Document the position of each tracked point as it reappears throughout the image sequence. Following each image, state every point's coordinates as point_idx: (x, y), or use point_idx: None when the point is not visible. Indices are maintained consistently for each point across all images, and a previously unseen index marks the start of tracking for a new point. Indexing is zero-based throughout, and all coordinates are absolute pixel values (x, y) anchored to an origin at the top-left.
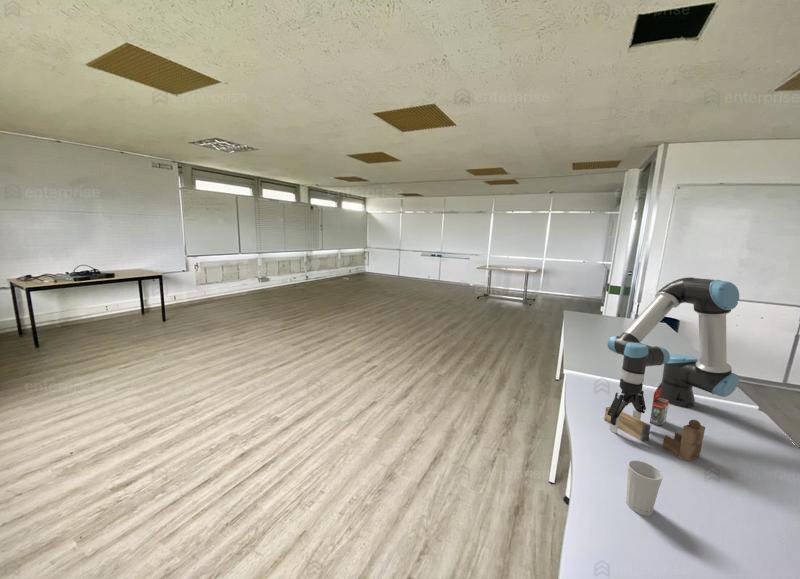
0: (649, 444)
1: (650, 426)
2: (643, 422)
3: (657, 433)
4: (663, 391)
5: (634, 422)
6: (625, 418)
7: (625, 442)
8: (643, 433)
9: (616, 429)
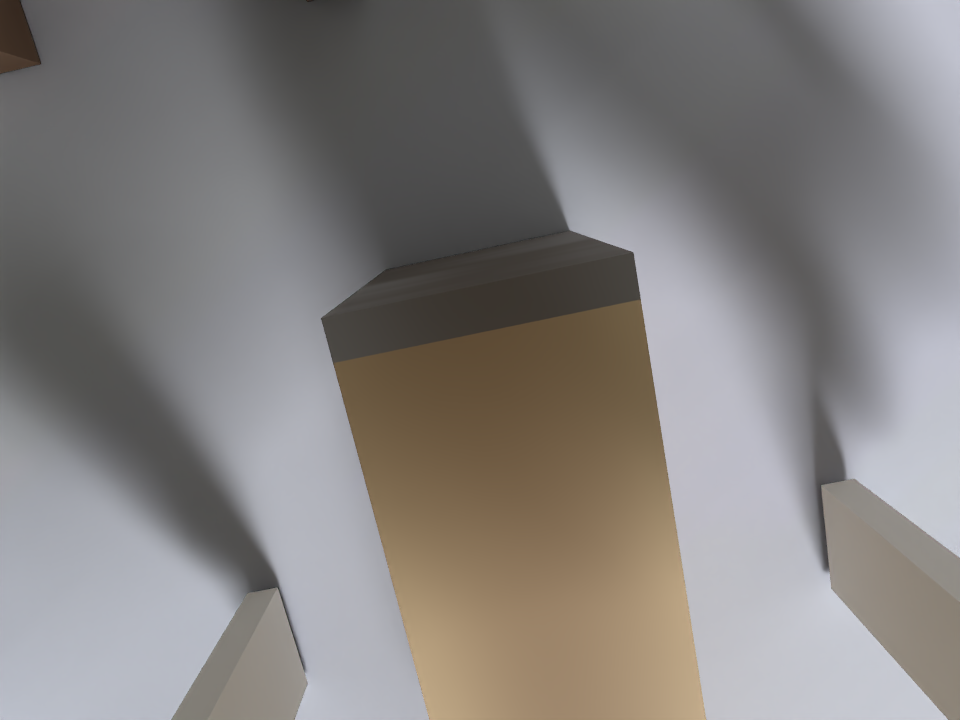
0: (513, 125)
1: (334, 309)
2: (403, 479)
3: (50, 409)
4: None
5: (671, 510)
6: (698, 710)
7: (915, 234)
8: (584, 240)
9: (897, 513)
